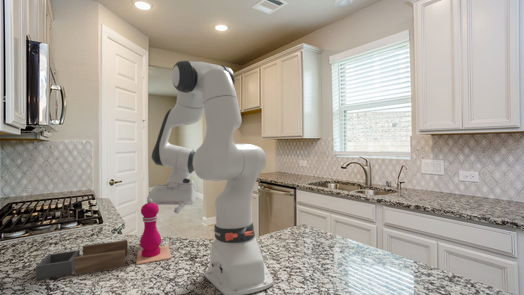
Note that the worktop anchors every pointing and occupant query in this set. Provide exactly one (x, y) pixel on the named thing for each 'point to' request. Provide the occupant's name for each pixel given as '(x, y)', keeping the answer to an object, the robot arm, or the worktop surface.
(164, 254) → the terracotta board
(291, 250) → the worktop surface
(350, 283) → the worktop surface
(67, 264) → the box
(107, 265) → the walnut channel
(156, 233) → the pepper mill
